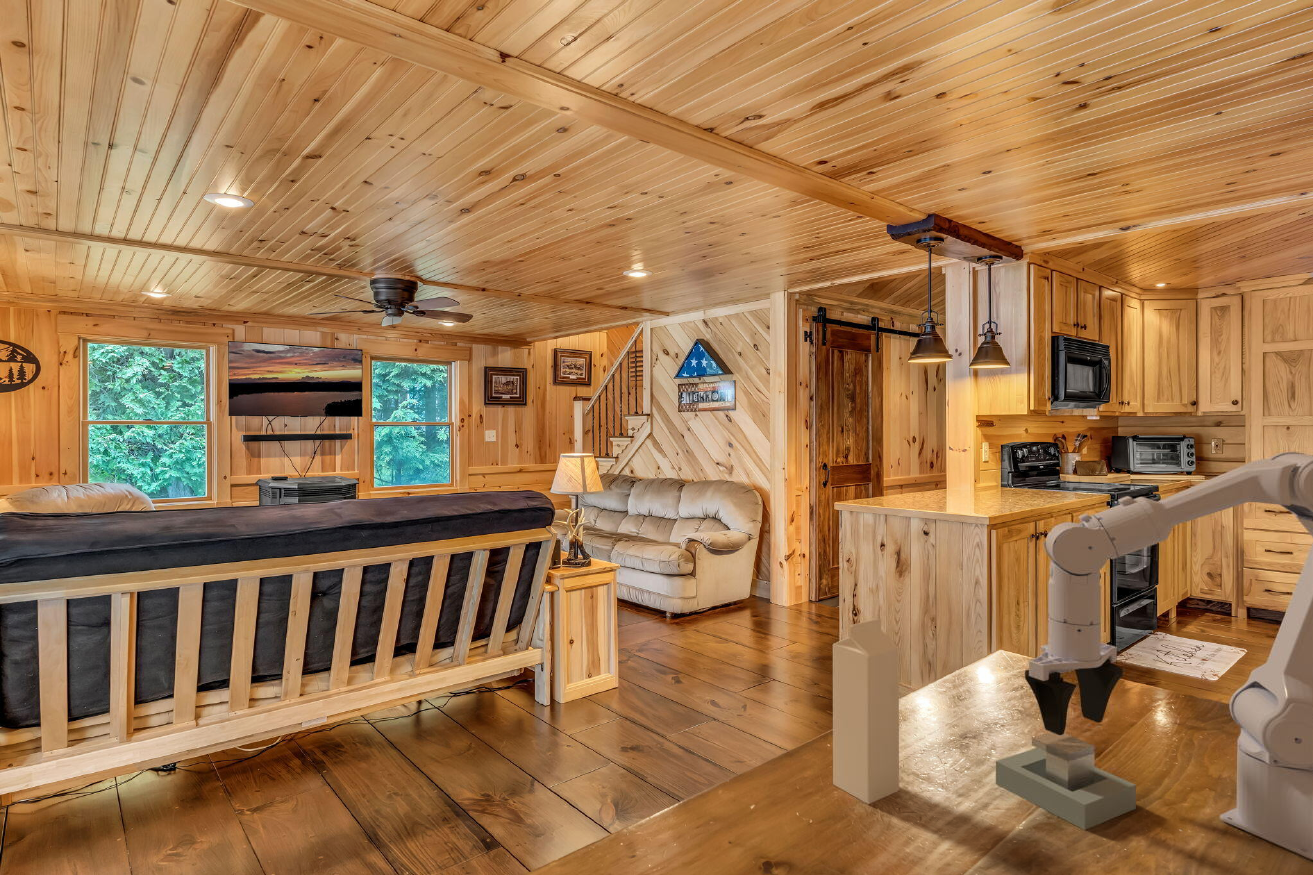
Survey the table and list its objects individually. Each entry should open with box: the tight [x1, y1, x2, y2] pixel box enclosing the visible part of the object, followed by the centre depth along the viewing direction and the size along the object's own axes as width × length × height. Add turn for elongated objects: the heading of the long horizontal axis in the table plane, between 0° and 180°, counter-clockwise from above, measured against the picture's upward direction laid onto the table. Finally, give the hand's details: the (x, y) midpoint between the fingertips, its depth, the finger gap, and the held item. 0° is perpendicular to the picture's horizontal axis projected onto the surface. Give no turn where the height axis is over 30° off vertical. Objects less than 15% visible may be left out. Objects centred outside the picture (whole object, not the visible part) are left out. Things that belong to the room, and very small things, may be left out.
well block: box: [995, 747, 1137, 831], centre depth 91 cm, size 12×10×3 cm
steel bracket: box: [1031, 731, 1096, 792], centre depth 91 cm, size 5×5×7 cm
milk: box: [832, 618, 900, 805], centre depth 93 cm, size 6×6×22 cm
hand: (1073, 725), depth 90 cm, fingers open, 7 cm apart
